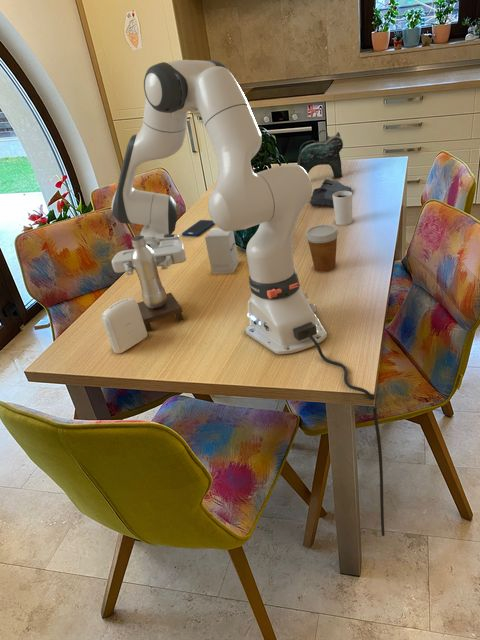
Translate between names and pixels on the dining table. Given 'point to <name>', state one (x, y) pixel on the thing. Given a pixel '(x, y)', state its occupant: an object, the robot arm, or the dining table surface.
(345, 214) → the white paper cup
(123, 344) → the photo printer
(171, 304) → the walnut riser
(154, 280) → the aluminum water bottle
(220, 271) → the white packaging box
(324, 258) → the disposable coffee cup
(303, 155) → the ceramic cat
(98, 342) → the dining table surface
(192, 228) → the cell phone
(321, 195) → the dark slate chunk
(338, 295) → the dining table surface
